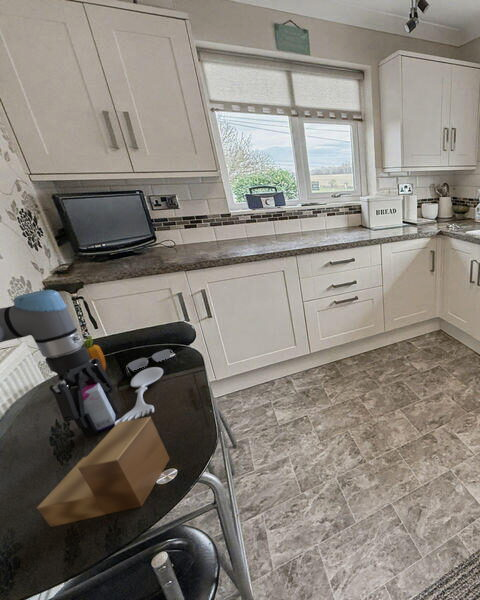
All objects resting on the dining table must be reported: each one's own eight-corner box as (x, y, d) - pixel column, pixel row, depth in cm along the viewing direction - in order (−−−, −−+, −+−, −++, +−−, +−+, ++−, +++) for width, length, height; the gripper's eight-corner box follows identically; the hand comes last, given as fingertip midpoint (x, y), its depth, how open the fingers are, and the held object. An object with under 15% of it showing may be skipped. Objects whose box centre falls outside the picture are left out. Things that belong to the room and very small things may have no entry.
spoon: (117, 434, 86) (111, 423, 84) (135, 379, 112) (131, 370, 111) (157, 419, 90) (153, 409, 89) (165, 369, 116) (162, 361, 115)
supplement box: (116, 414, 93) (99, 381, 89) (116, 425, 89) (98, 390, 85) (89, 425, 90) (71, 390, 86) (88, 436, 85) (68, 400, 81)
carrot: (93, 380, 114) (73, 342, 109) (95, 374, 118) (76, 337, 113) (111, 374, 117) (93, 337, 111) (112, 369, 121) (95, 332, 115)
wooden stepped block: (50, 527, 62) (17, 479, 58) (93, 475, 73) (68, 432, 69) (141, 506, 64) (116, 459, 60) (170, 459, 75) (150, 416, 71)
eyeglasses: (173, 356, 125) (170, 347, 124) (179, 364, 120) (176, 355, 118) (129, 373, 116) (124, 363, 115) (133, 382, 111) (128, 373, 109)
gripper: (48, 370, 72) (92, 449, 80) (108, 331, 91) (138, 399, 99) (9, 376, 71) (57, 456, 79) (78, 336, 90) (111, 403, 98)
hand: (102, 424), depth 89 cm, fingers closed on supplement box, 8 cm apart
